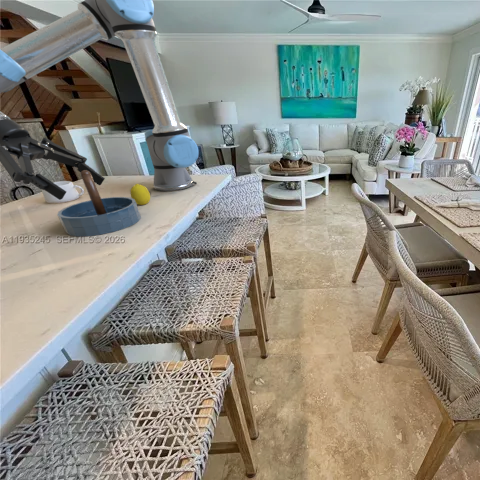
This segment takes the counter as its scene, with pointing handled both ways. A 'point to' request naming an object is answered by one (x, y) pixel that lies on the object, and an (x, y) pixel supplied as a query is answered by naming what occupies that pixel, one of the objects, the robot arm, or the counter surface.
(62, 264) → the counter surface
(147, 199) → the lemon
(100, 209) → the brown wooden pestle
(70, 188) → the mug
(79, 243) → the counter surface
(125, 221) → the bowl
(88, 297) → the counter surface
